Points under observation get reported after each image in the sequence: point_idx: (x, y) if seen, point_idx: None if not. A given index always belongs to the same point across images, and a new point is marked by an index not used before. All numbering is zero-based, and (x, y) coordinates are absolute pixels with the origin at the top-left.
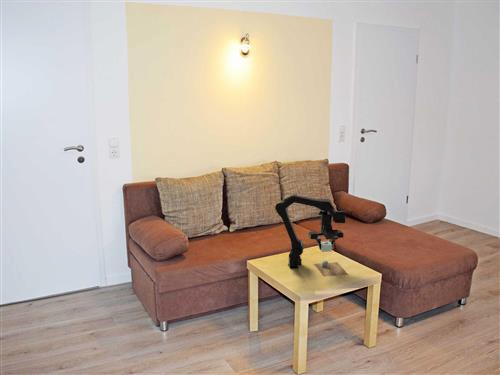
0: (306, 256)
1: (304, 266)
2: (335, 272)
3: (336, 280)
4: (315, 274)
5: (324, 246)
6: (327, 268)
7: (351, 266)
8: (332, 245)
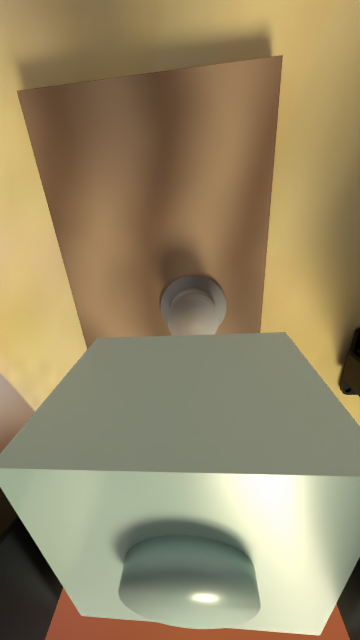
0: None
1: (316, 354)
2: (135, 165)
3: (156, 6)
4: (302, 198)
5: (272, 420)
6: (183, 266)
7: (10, 319)
8: None
